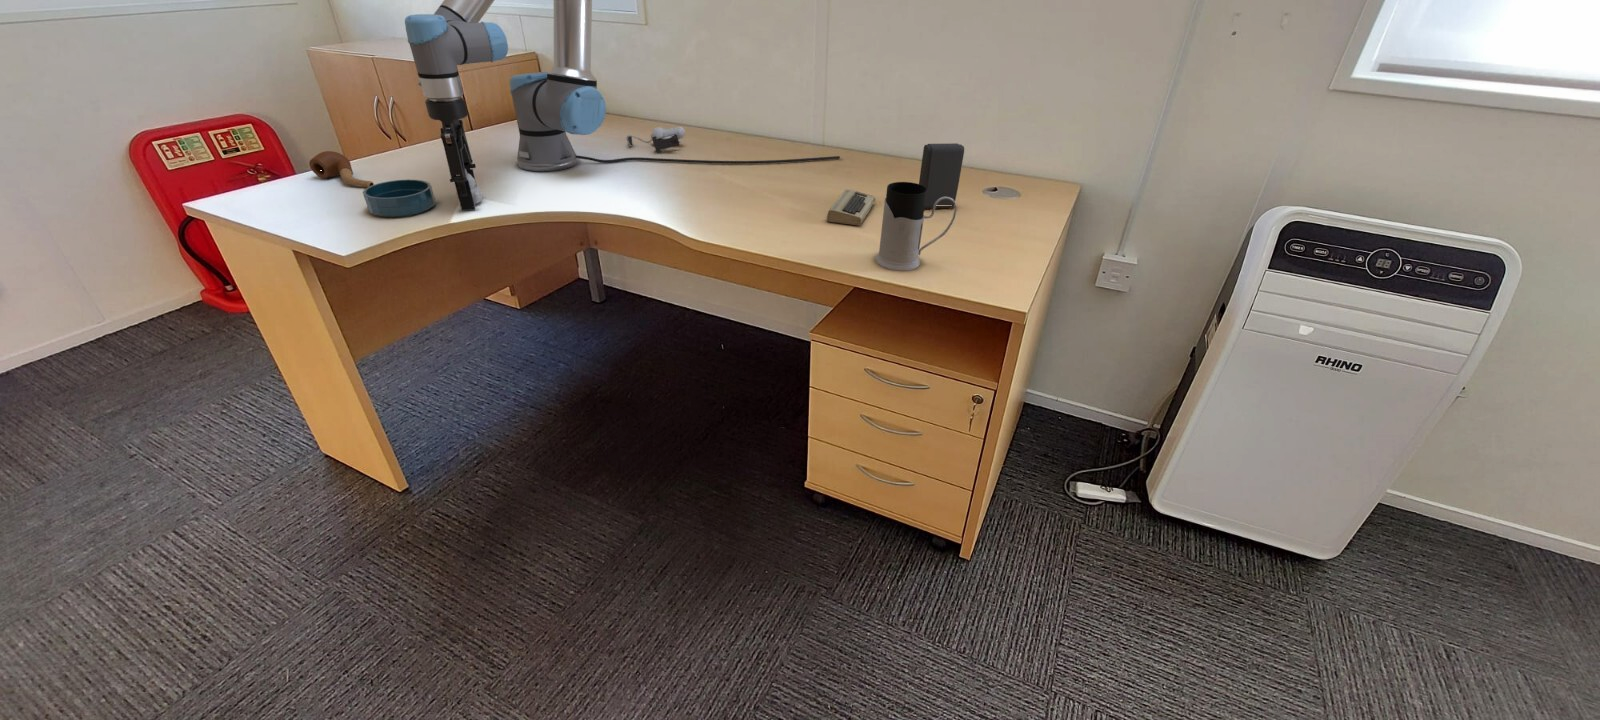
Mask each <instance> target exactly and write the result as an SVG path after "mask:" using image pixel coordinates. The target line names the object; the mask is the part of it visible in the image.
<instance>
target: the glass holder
mask: <svg viewBox="0 0 1600 720" xmlns="http://www.w3.org/2000/svg"><path fill="white" fill-rule="evenodd" d="M885 193H886V194H885V195H886V196H885V197H884V202H883V203H884V204H883V214H882V221H881V230H880V231H881V232H880V240H879V250H878V254H877V256H876V257H875V261H876V263H877V265H879V266H880V267H883V268H884V269H887V270H891V271H900V272H903V271H904V272H905V271H912V270H915V269H917V268H918V267H919V266H920V259H919V256H920V255H921V252H922V251H924V249H926V248H928V247H929V246H931V245H932V244H933V243H936V242H937V241H938V240H940V239H941V238H942V237H944V236H945V235H946V234H947V232H948V231H949V230H950V228H951V226H952V225H953V224H954V221H955V219H956V215H957V207H958V206H957V202H956V200H955V201H954V200H953V199H952V198H950V197H941V198H939V199H938V200H937V201H936V202H935V204H934V206H933V209H931V214H929V215H924V213H925V209H924V208H925V201H926V194H927V188H926V187H924V186H922V185H920V184H919V183H916V182H912V181H911V182H910V181H895V182H891V183H889V184H887V186H886V192H885ZM943 199H949V200H951V201H952V202H953V203H954V211H953V214H952V218H951V219H950V221H949V222H950V223H949V224H948V226H947V227H946V228H945V229H944V230H943V232H942V233H940V234H939V235H938V236H936V237H934V238H933V239H932V240H930V241H928V242H927V243H925V244H924V245H923V246H922V247H921V243H922V235H923V234H922V233H923V229H924V219H931V218H933V216H934V214H935V211H936V209H935V207H936V205H937V203H938V202H939V201H941V200H943Z"/></svg>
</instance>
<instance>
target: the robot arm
mask: <svg viewBox="0 0 1600 720" xmlns="http://www.w3.org/2000/svg"><path fill="white" fill-rule="evenodd" d="M494 2H495V0H442V2H441V4H440V5H439V6H438V8H437V9H436V11H435V12H434V13H433V14H432V13H425V14H423V13H422V14H421V13H419V14H418V13H417V14H411V15H410V14H409V15H407V16H406V17H405V18H404V25H405V32H406V37H407V43H408V44H409V49H410V51H411V54H412V55H411V56H412V59H413V62H414V65H415V69H416V72H417V76H418V81H416V85H417V86H418V87H421V91H422V94H423V97H424V98H426V99H425V102H424V103H425V107H426V110H427V115H428V117H429V118H430V119H431V120H433V121H439V122H441V126H442V127H440V138H441V141H442V145H443V147H444V148H443V149H444V153H445V158H446V162H447V167H448V170H449V175H450V178H449V182H450V183H454V186H455V190H456V193H457V194H458V196H457V198H458V201H459V205H460V210H461V211H472V210H476V206H475V205H476V204H474V201H473V197H472V193H471V189H470V185H469V181H468V180H467V177H466V173H465V169H466V171H467V174H468V173H469V174H470V175H471V176H472V177H473V178H474V179H475V182H476V183H477V181H476V176H475V173H474V169H476V168H477V167H476V166H477V165H476V163H474V162H473V161H474V160H473V159H472V155H471V150H470V147H469V143H468V139H467V136H466V133H465V128H464V122H463V120H462V119H465V118H466V117H468V115H469V113H468V109H467V104H466V100H465V99H464V97H463V95H464V91H463V87H462V82H461V77H460V75H459V71H458V66H461V65H467V64H468V65H469V64H478V63H489V62H490V63H493V62H497V61H502V60H504V59H505V58H506V57H507V55H508V52H509V44H508V38H507V36H506V34H505V31H504V30H503V29H502V27H501V26H500V25H498V24H497V23H496V22H492V21H491V22H487V21H481V20H482V18H483V17H484V16H485V15H486V13H487V12H488V10H489V9H490V7H491V6H492V5H493V4H494ZM592 18H593V0H553V66H552V67H551V68H549V70H547V71H538V72H537V71H536V72H528V73H520V74H515V75H513V76H511V77H510V78H509V89H510V91H509V93H510V95H511V99H512V104H513V108H514V114H515V119H516V124H517V128H518V132H519V141H518V149H517V157H516V159H517V165H518V167H519V168H520V169H522V170H525V171H531V172H556V171H562V170H567V169H569V168H572V167H574V166H576V165H577V164H578V159H579V160H587V161H592V162H596V163H603V164H604V163H605V164H608V163H609V164H611V163H618V162H619V163H620V162H625V161H649V162H666V163H667V162H670V163H674V162H675V163H689V164H691V163H693V164H722V165H723V164H729V165H730V164H731V165H733V164H734V165H735V164H736V165H737V164H739V165H740V164H741V165H742V164H743V165H744V164H745V165H746V164H747V165H748V164H750V165H751V164H753V165H754V164H778V163H779V164H780V163H782V164H783V163H795V162H796V163H797V162H810V161H827V160H839V159H840V158H841V155H834V156H821V157H806V158H792V159H770V160H769V159H768V160H766V159H765V160H708V159H707V160H706V159H705V160H703V159H678V158H657V157H640V156H639V157H637V156H636V157H635V156H634V157H633V156H632V157H631V156H630V157H622V158H614V159H599V158H594V157H591V156H582V155H577V153H576V152H575V149H574V147H573V145H572V143H571V141H570V139H569V137H568V135H567V133H568V134H570V135H579V136H590V135H591V134H593V133H595V132H597V130H598V129H599V128H600V127H601V126H602V125H603V123H604V120H605V118H606V115H607V114H606V113H607V104H606V100H605V98H604V97H603V94H602V92H600V91H599V90H598V86H597V85H598V79H597V77H596V76H595V75H594V74H593V73H592V70H591V69H592V21H593V19H592ZM480 21H481V22H480ZM475 186H477V187H478V185H477V184H476V185H475ZM457 194H456V195H457Z"/></svg>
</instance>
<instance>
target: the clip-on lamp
mask: <svg viewBox="0 0 1600 720" xmlns="http://www.w3.org/2000/svg"><path fill="white" fill-rule="evenodd" d="M685 136H686V131H685V129H684V127H682V126H676V127H671V128H663V127H658V126H657V127H655V128H653V129H652V132H651V134H650V140H648V141H647V140H644V139H642V138H640V137H638V136H635V135H633V134H627V135H626V142H627V144H628V146H629V148H630V147H631V148H632V147H633V138H634V139H637V140H638V141H641V142H643V143H646V144H649V143H651V142H652V143H653V146H654V149H655V153H656V154H660V153H661V152H662V150H665V149H669V148H674V147H679V146H680V144H683V142H682V140H680V139H684V138H685Z"/></svg>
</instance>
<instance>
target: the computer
mask: <svg viewBox="0 0 1600 720" xmlns="http://www.w3.org/2000/svg"><path fill="white" fill-rule="evenodd" d="M875 202H876V197H875V195H872V194H869V193H864V192H861V191H857V190H854V189H844V190H843V192H842V193H841V194H840V196H839V197H838V198H837V199H836V200H835V202H834V203H833V205H832V206H831V207H830V208H829V210H828V212H827V216H826V221H827V222H830V223H837V224H845V225H853V226H859V227H860V226H861V225H862V223H863V221H864V220H865V218H866V217H867V215H868V213H869V212H870V211H871V210H872V208H873V205H874V203H875Z"/></svg>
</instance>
